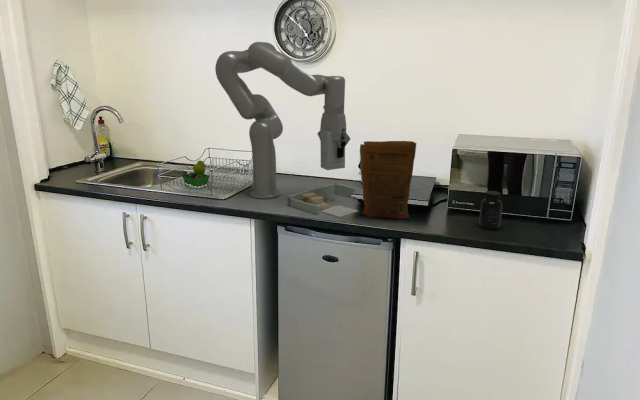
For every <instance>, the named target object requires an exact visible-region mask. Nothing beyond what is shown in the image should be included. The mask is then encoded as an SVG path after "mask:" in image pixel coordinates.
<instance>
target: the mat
mask: <svg viewBox="0 0 640 400" xmlns="http://www.w3.org/2000/svg"><path fill="white" fill-rule="evenodd" d="M320 213H323V214H327V215H329V216H333V217H336V218H339V219H341V218H344V217H348V216H350V215H352V214H355V213H359V210H358V209H354V208H350V207H346V206H343V205H334V206H331V207H329V208H328V209H325V210H321V211H320Z"/></svg>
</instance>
